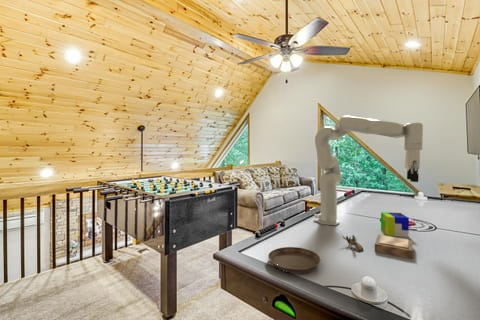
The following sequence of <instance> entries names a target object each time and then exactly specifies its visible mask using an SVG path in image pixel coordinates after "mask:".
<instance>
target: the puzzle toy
mask: <svg viewBox="0 0 480 320" xmlns="http://www.w3.org/2000/svg"><path fill="white" fill-rule="evenodd" d="M409 224H410V218H409V217H408V216H406V215H405V214H403V213H401V212H386V211H385V212H384V211H383V212H380V230H381V231H382V232H383V233H384V234H385V236H389V237H394V236H395V237H408V238H409V234H410V233H409V230H410V229H409V228H410V227H409V226H410V225H409Z"/></svg>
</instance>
